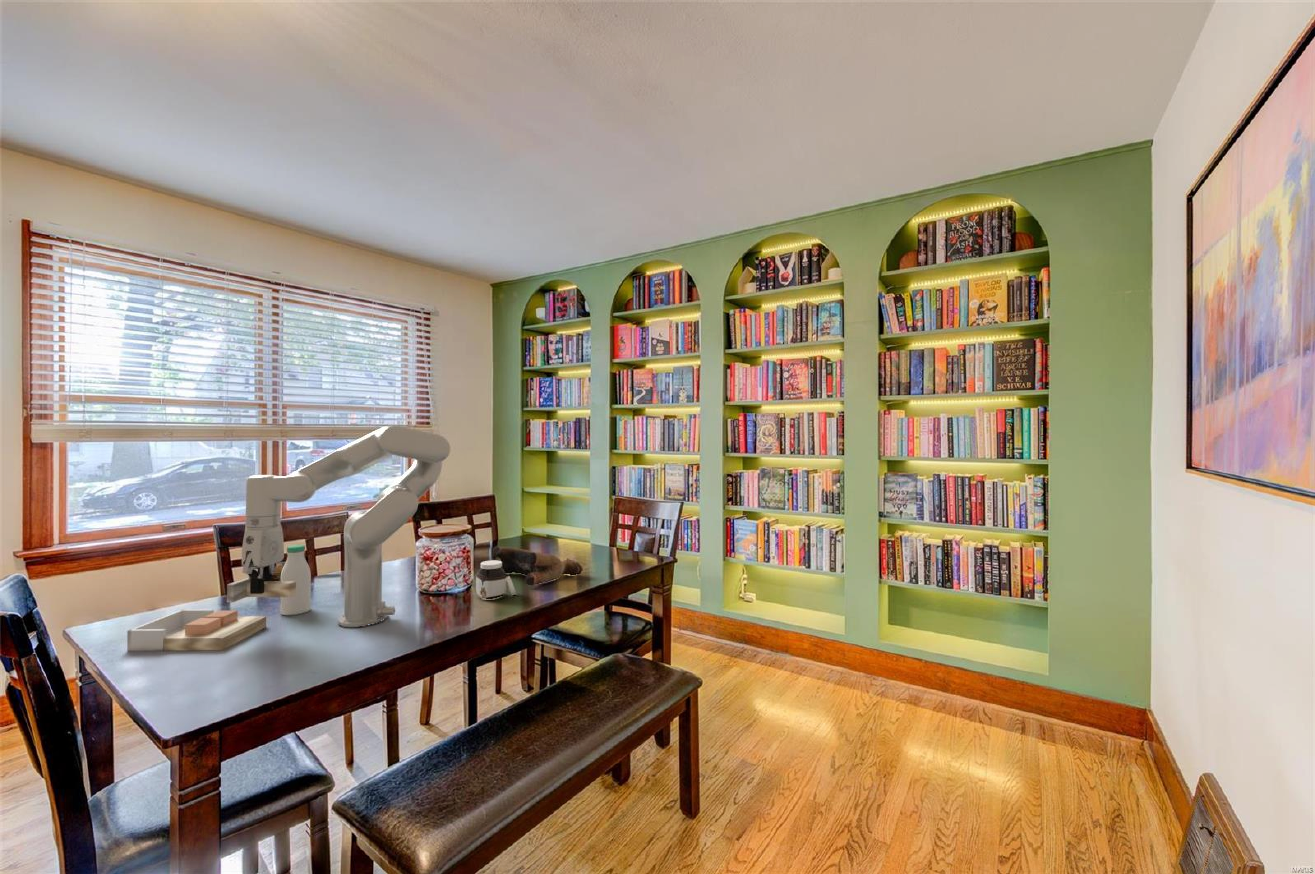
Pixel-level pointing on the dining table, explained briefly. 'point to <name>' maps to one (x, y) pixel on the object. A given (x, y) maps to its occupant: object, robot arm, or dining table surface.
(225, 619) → the tile
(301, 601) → the milk bottle
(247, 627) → the board
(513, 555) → the brown teddy bear
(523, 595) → the dining table surface
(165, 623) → the box
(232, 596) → the scraper
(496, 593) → the spread jar
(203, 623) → the tile
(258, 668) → the dining table surface
